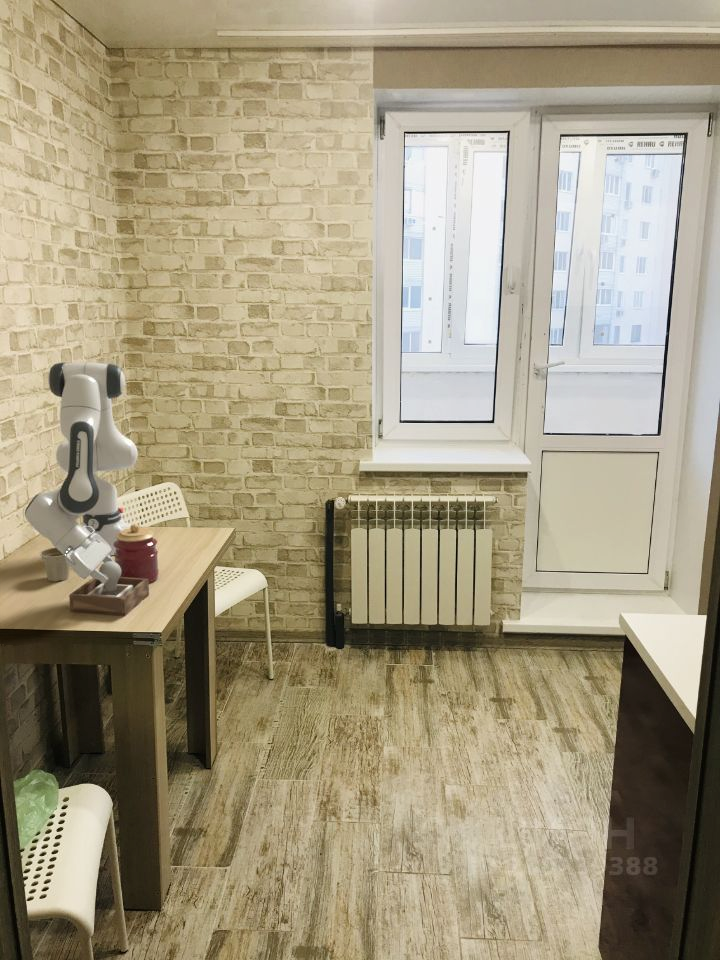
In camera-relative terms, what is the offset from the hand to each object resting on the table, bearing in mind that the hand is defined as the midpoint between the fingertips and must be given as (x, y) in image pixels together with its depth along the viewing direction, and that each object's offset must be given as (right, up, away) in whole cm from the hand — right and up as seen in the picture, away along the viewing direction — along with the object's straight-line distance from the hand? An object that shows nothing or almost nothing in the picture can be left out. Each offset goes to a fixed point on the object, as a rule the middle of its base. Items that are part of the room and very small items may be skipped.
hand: (111, 575), depth 221 cm
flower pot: (-23, -4, +21) cm, 31 cm away
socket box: (-1, -8, +2) cm, 8 cm away
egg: (-1, -7, +3) cm, 8 cm away
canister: (+1, -4, +21) cm, 22 cm away
